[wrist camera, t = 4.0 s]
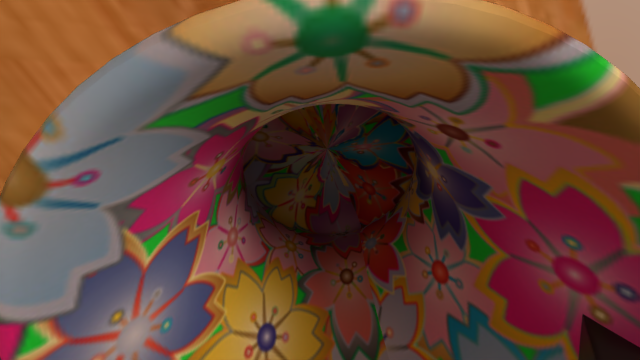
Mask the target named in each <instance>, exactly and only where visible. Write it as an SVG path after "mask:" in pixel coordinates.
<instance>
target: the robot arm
mask: <svg viewBox="0 0 640 360" xmlns="http://www.w3.org/2000/svg"><path fill="white" fill-rule="evenodd" d="M0 360H1V358H0ZM578 360H640V347H638V346H636V345H635V344H633V343H631V342H630V341H628V340H626V339H624V338H623V337H621V336H619V335H618V334H616V333H614V332H612V331H611V330H609V329H607V328H606V327H604V326H602V325H600V324H599V323H597V322H595V321H594V320H592V319H591V318H589V317H587V316H586V315H584V314H583V315H582V324H581V333H580V345H579V359H578Z"/></svg>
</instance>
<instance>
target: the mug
mask: <svg viewBox="0 0 640 360" xmlns="http://www.w3.org/2000/svg"><path fill="white" fill-rule="evenodd" d="M583 314H584V315H586V316H587V317H589V318H591V319H592V320H594V321H595V322H597V323H599V324H600V325H602V326H604V327H606V328H607V329H609V330H611V331H612V332H614V333H616V334H618V335H619V336H621V337H623V338H624V339H626V340H628V341H630V342H631V343H633V344H635V345H636V346H638V347H640V88H639V87H637V85H636V84H635V83H633V81H632V80H631V79H630V78H629V77H627V76H626V75H625V74H624V73H623V72H622V71H620V70H619V69H618V68H616V67H615V66H614V65H612V64H611V63H609V62H608V61H607V60H606V59H604V58H603V57H602V56H600V55H599V54H597V53H596V52H595V51H593V50H592V49H591V48H589V47H588V46H587V45H585V44H583V43H581V42H579V41H578V40H576V39H574V38H572V37H570V36H569V35H567V34H565V33H563V32H561V31H560V30H558V29H556V28H554V27H552V26H550V25H549V24H547V23H544V22H542V21H539V20H537V19H534V18H532V17H529V16H527V15H524V14H522V13H519V12H517V11H514V10H512V9H509V8H507V7H504V6H502V5H498V4H494V3H490V2H486V1H483V0H240V1H237V2H234V3H231V4H228V5H224V6H221V7H218V8H215V9H212V10H209V11H206V12H203V13H200V14H197V15H194V16H192V17H190V18H188V19H186V20H183V21H181V22H179V23H177V24H175V25H172V26H170V27H168V28H166V29H164V30H161V31H159V32H157V33H155V34H153V35H151V36H149V37H148V38H146V39H144V40H143V41H141V42H139V43H138V44H136V45H134V46H133V47H131V48H129V49H128V50H126V51H124V52H123V53H121V54H120V55H118V56H116V57H115V58H113V59H112V60H110V61H109V62H108V63H107V64H105V65H104V66H103V67H101V68H100V69H99V70H98V71H96V72H95V73H94V74H93V75H91V76H90V77H89V78H88V79H86V80H85V81H84V82H82V83H81V84H80V85H79V86H78V87H77V88H76V89H75V90H74V91H73V92H72V93H71V94H70V95H69V96H68V97H67V98H66V99H65V100H64V101H63V102H62V103H61V104H60V105H59V106H58V107H57V108H56V109H55V110H54V111H53V112H52V113H51V114H50V115H49V117H48V118H47V119H46V120H45V122H44V123H43V124H42V126H41V127H40V128H39V130H38V131H37V132H36V134H35V135H34V136H33V138H32V139H31V140H30V142H29V143H28V145H27V146H26V147H25V149H24V150H23V151H22V153H21V155H20V157H19V159H18V160H17V162H16V164H15V166H14V168H13V169H12V171H11V173H10V175H9V177H8V179H7V180H6V182H5V185H4V187H3V190H2V193H1V195H0V358H1V360H578V359H579V345H580V333H581V324H582V315H583Z"/></svg>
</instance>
